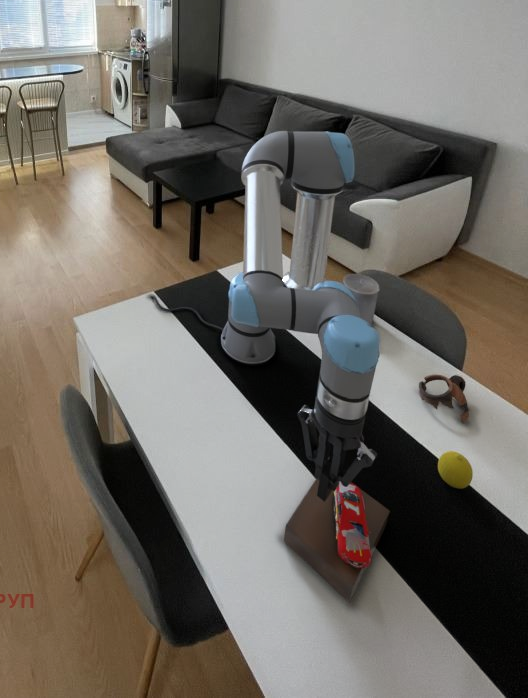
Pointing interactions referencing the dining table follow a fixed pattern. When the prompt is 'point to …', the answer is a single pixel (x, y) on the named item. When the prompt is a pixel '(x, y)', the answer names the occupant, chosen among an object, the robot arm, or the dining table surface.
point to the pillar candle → (363, 294)
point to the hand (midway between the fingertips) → (324, 493)
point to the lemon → (455, 469)
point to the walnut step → (330, 538)
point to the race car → (351, 526)
